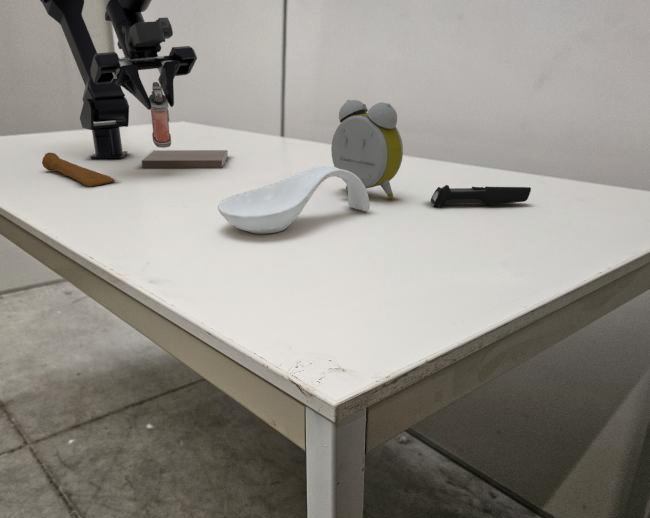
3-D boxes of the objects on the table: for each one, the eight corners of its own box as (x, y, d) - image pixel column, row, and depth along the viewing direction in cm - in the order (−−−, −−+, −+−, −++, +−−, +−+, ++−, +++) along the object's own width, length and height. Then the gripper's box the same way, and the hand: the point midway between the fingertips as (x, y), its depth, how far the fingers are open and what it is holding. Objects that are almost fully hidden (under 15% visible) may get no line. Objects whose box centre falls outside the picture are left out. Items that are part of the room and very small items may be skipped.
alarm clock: (402, 198, 102) (408, 102, 95) (376, 206, 97) (380, 105, 91) (349, 187, 109) (351, 97, 103) (322, 194, 105) (323, 100, 98)
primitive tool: (116, 182, 112) (113, 162, 110) (89, 187, 108) (85, 167, 107) (59, 168, 123) (56, 150, 121) (33, 173, 119) (29, 154, 118)
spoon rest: (247, 246, 78) (244, 190, 75) (204, 225, 87) (200, 174, 84) (385, 217, 91) (387, 168, 88) (336, 201, 100) (336, 156, 97)
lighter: (173, 147, 115) (168, 92, 109) (154, 148, 114) (148, 92, 108) (169, 132, 121) (164, 79, 115) (151, 133, 120) (145, 79, 114)
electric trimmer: (531, 209, 97) (535, 189, 96) (433, 208, 96) (435, 187, 95) (524, 203, 100) (527, 183, 99) (429, 202, 100) (431, 182, 98)
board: (154, 157, 135) (153, 150, 134) (228, 157, 136) (227, 150, 135) (142, 168, 124) (141, 160, 123) (222, 167, 125) (221, 160, 124)
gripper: (85, 1, 101) (119, 89, 101) (189, -3, 111) (220, 77, 110) (77, 42, 111) (108, 122, 110) (173, 35, 120) (202, 109, 120)
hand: (161, 107), depth 113 cm, fingers closed on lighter, 4 cm apart
